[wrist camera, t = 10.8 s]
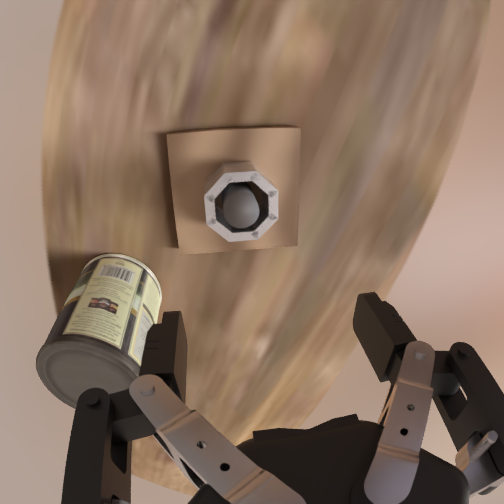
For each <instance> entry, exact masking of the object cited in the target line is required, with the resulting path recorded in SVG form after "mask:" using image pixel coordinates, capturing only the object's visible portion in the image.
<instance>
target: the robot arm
mask: <svg viewBox="0 0 504 504" xmlns="http://www.w3.org/2000/svg"><path fill="white" fill-rule="evenodd" d="M353 328H354V332H355V334H356V336H357V337H358V339H359V341H360V343H361V345H362V347H363V349H364V351H365V353H366V355H367V357H368V359H369V360H370V363H371V365H372V367H373V368H374V371H375V372H376V374H377V376H378V379H379V381H380V382H384V381H388V380H389V381H390V383H391V385H390V388H389V390H388V394H387V396H386V399H385V402H384V405H383V408H382V411H381V414H380V417H379V420H378V422H377V423H374V422H370V421H362V420H358V417H357V414H352V415H348V416H344V417H339V418H334V419H331V420H329V421H327V422H324V423H322V424H320V425H318V426H315V427H313V428H311V429H306V430H304V429H287V428H276V429H268V430H259V431H253V438H252V439H249V440H247V441H244V442H242V443H241V444H239V445H237V446H236V447H235V446H234V445H233V444H232V443H231V442H230V441H229V440H227V439H226V438H225V437H224V436H223V435H222V434H221V433H220V432H219V431H218V430H217V429H216V428H215V427H213V426H212V425H211V424H210V423H209V422H208V421H207V420H206V419H205V418H204V417H203V416H202V415H201V414H200V413H199V412H198V411H196V410H193V411H191V410H190V409H189V408H188V407H187V406H186V405H185V396H186V369H187V338H186V333H185V328H184V323H183V318H182V314H181V311H170V312H164V313H163V318H162V324H153V325H152V326H151V327H150V329H149V330H148V331H147V335H146V340H145V345H144V350H143V355H142V360H141V366H140V371H139V376H138V378H136V379H135V380H134V381H133V382H132V383H131V385H130V387H129V388H128V389H126V390H123V391H119V392H116V393H112V394H108V392H107V391H105V390H104V389H102V388H90V389H87V390H86V391H84V392H83V393H82V394H81V395H80V396H79V398H78V401H77V406H76V410H75V415H74V420H73V425H72V430H71V436H70V442H69V448H68V454H67V461H66V467H65V475H64V483H63V492H62V502H61V504H131V452H132V440H135V439H139V438H143V437H147V436H150V435H152V436H153V437H154V438H155V439H156V441H157V442H158V443H159V444H160V445H161V447H162V448H163V449H164V450H165V451H166V453H167V454H168V455H169V456H170V457H171V458H172V460H173V461H174V462H175V463H176V464H177V466H178V467H179V468H180V470H181V471H182V472H183V473H184V475H185V476H186V477H187V478H188V479H189V480H190V481H191V482H192V483H193V484H194V486H195V487H196V488H197V489H198V490H199V491H198V492H197V493H196V494H195V495H194V497H193V498H192V499H191V500H190V501H189V503H188V504H469V498H471V497H473V496H474V495H476V494H480V495H485V494H488V493H490V492H491V491H493V490H494V489H495V488H497V487H498V486H499V485H501V484H502V483H503V482H504V394H503V392H502V391H501V389H500V387H499V386H498V384H497V383H496V381H495V379H494V378H493V376H492V375H491V373H490V372H489V370H488V369H487V367H486V366H485V364H484V363H483V361H482V360H481V358H480V357H479V356H478V354H477V352H476V351H475V350H474V348H472V346H470V345H469V344H467V343H464V342H457V343H454V344H453V345H452V346H451V348H450V350H449V351H434V349H433V348H432V347H431V346H430V345H429V344H427V343H425V342H422V341H417V339H416V338H415V337H414V335H413V334H412V332H411V331H410V329H409V328H408V326H407V325H406V324H405V322H403V319H402V318H401V316H399V314H398V312H397V311H396V310H395V308H394V307H393V306H392V305H390V304H389V303H387V302H386V301H381V300H380V298H379V297H378V295H377V294H376V293H375V292H370V293H363V294H359V295H358V297H357V302H356V307H355V312H354V317H353ZM460 386H461V387H462V388H463V390H464V392H465V394H466V396H467V400H466V398H465V397H464V395H463V393H462V391H461V389H460ZM432 398H433V400H434V402H435V404H436V406H437V408H438V411H439V413H440V415H441V417H442V419H443V421H444V423H445V425H446V427H447V430H448V432H449V434H450V436H451V438H452V441H453V443H454V445H455V447H456V449H457V452H458V453H457V455H456V459H455V461H456V466H453V465H452V464H450V463H448V462H446V461H444V460H442V459H441V458H439V457H437V456H435V455H433V454H431V453H429V452H428V451H426V450H424V449H422V448H421V444H422V440H423V436H424V432H425V428H426V423H427V419H428V414H429V410H430V404H431V399H432Z"/></svg>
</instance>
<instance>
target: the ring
mask: <svg viewBox="0 0 504 504" xmlns="http://www.w3.org/2000/svg"><path fill="white" fill-rule="evenodd" d="M245 181H253V182H254V183H255V184H256V185H257V186H259V187H260V188H261V192H262V201H261V202H260V203H259V204H258V206H259V216H258V218H257V220H256V221H255V223H254V224H252V225H251V226H249V227H246V228H236V227H233V226H231V225H230V224H229V223H228V222H227V221H226V219H225V217H224V211H223V210H222V209H221V208H219V207H218V206H217V205H216V204H215V198H216V197H217V196H218V195H219V193H220V192H221V191H222V190H223V189H224V188H225V187H226V186H227V185H228V184H229V183H231V182H245ZM204 202H205V213H206V223H207V225H208V226H209V227H210V228H212V229H213V230H214V231H216V232H217V233H218V234H219V235H221V236H222V237H223V238H225V239H226V240H227V241H229V242H234V241H246V240H258V239H259V238H260V237H261V236H262V235H263V234H264V233H265V232H266V231H267V230H268V229H269V228H270V227H271V226H272V225H273V224H274V223H275V222H276V221H277V220H278V190H277V188H276V187H275V185H274V184H273V182H272V181H271V179H270V178H269V177H268V176H266V175H265V174H264V173H263V172H262V171H261V170H260V169H259V168H258V167H256V166H255V165H254V164H253V163H252V162H251V161H242V162H227V163H222V164H221V165H220V166H219V168H218V169H217V170H216V171H215V172H214V173H213V174H212V175H211V176H210V178H209V179H208V180H207V181H206V182H205V187H204Z"/></svg>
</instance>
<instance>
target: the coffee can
mask: <svg viewBox="0 0 504 504" xmlns="http://www.w3.org/2000/svg"><path fill="white" fill-rule="evenodd" d="M161 299H162V294H161V288H160V284H159V282H158V280H157V278H156V277H155V275H154V274H153V272H152V271H151V270H150V269H149V268H148V267H147V266H146V265H144V264H143V263H142V262H140V261H138V260H137V259H135V258H132V257H130V256H127V255H123V254H114V253H111V254H103V255H100V256H98V257H95V258H94V259H92V260H91V261H89V262H88V263H87V264H86V266H85V267H84V268H83V270H82V272H81V275H80V277H79V279H78V280H77V282H76V284H75V286H74V287H73V289H72V291H71V293H70V295H69V297H68V298H67V300H66V302H65V304H64V306H63V308H62V310H61V312H60V314H59V315H58V317H57V319H56V321H55V323H54V325H53V327H52V330H51V331H50V334H49V335H48V338H47V340H46V342H45V344H44V345H43V346H42V347H41V349H40V351H39V353H38V355H37V358H36V369H37V372H38V375H39V377H40V379H41V380H42V382H43V383H44V385H45V386H46V387H47V389H48V390H49V391H50V392H51V393H52V394H54V395H55V396H56V397H57V398H58V399H59V400H61V401H62V402H64V403H65V404H67V405H69V406H71V407H73V408H75V409H76V406H77V401H78V398H79V396H80V395H81V394H82V393H83V392H84V391H86V390H87V389H90V388H102V389H104V390H105V391H107V392H108V394H112V393H116V392H119V391H123V390H126V389H128V388H129V387H130V385H131V383H132V382H133V381H134V380H135V379H136V378H138V376H139V371H140V366H141V360H142V355H143V350H144V345H145V340H146V335H147V331H148V330H149V329H150V327H151V326H152V325H153V324H157V319H158V313H159V307H160V304H161Z"/></svg>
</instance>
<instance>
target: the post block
mask: <svg viewBox="0 0 504 504" xmlns="http://www.w3.org/2000/svg"><path fill="white" fill-rule="evenodd" d="M300 133H301V128H299V127H297V126H272V127H239V128H221V129H206V130H194V131H183V132H173V133H168V134H167V135H166V136H167V148H168V159H169V169H170V179H171V189H172V198H173V206H174V214H175V222H176V230H177V238H178V245H179V252H180V255H186V254H199V253H211V252H224V251H237V250H250V249H262V248H275V247H288V246H297V244H298V219H299V189H300ZM242 161H251V162H252V163H253V164H254V165H255V166H256V167H258V168H259V169H260V170H261V171H262V172H263V173H264V174H265V175H266V176H268V177H269V178H270V179H271V181H272V182H273V184H274V185H275V187H276V188H277V190H278V220H277V221H276V222H275V223H274V224H273V225H272V226H271V227H270V228H269V229H268V230H267V231H266V232H265V233H264V234H263V235H262V236H261V237H260V238H259V239H258V240H246V241H234V242H229V241H227V240H226V239H225V238H223V237H222V236H221V235H219V234H218V233H217V232H216V231H214V230H213V229H212V228H210V227H209V226H208V225H207V223H206V213H205V202H204V187H205V182H206V181H207V180H208V179H209V178H210V176H211V175H212V174H213V173H214V172H215V171H216V170H217V169H218V168H219V166H220V165H221V164H222V163H227V162H242ZM261 201H262V192H261V188H260V187H259V186H257V185H256V184H255V183H254V182H253V181H245V182H231V183H229V184H228V185H227V186H226V187H225V188H224V189H223V190H222V191H221V192H220V193H219V195H218V196H217V197H216V198H215V204H216V205H217V206H218V207H219V208H221V209H222V210H223V211H224V217H225V219H226V221H227V222H228V223H229V224H230V225H231V226H233V227H236V228H246V227H249V226H251V225H252V224H254V223H255V221H256V220H257V218H258V216H259V206H258V204H259V203H260V202H261Z"/></svg>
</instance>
